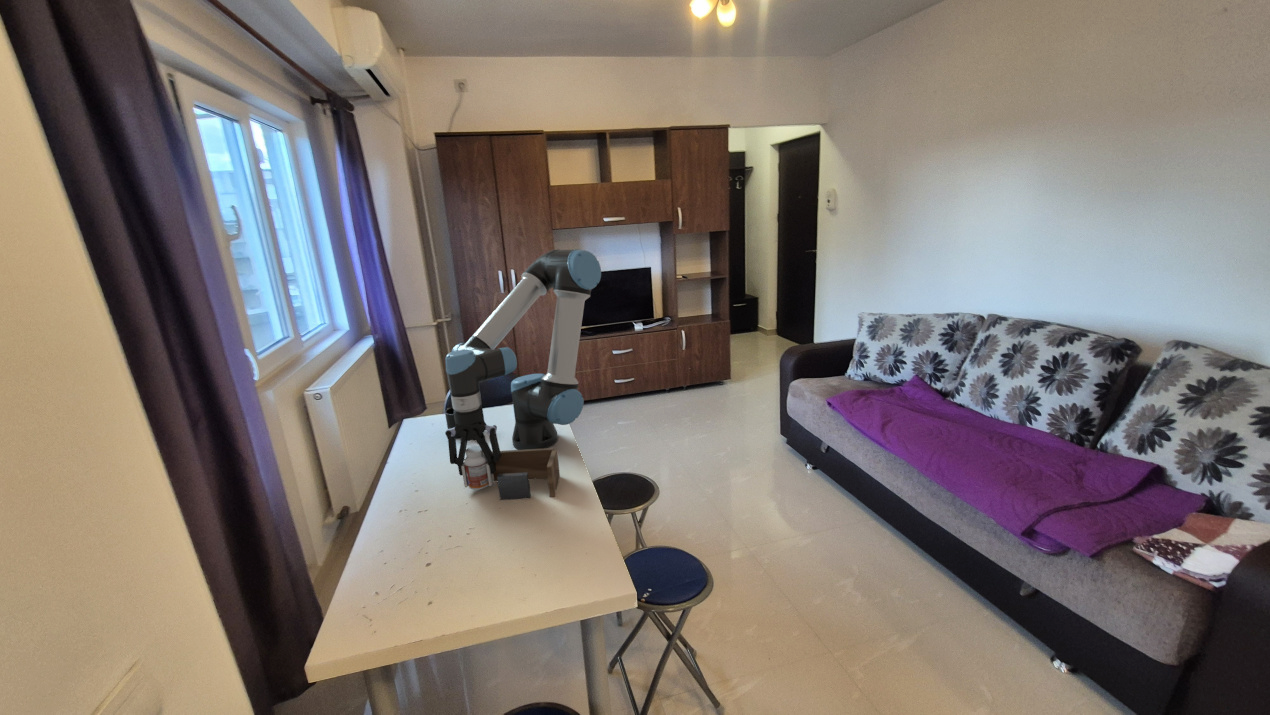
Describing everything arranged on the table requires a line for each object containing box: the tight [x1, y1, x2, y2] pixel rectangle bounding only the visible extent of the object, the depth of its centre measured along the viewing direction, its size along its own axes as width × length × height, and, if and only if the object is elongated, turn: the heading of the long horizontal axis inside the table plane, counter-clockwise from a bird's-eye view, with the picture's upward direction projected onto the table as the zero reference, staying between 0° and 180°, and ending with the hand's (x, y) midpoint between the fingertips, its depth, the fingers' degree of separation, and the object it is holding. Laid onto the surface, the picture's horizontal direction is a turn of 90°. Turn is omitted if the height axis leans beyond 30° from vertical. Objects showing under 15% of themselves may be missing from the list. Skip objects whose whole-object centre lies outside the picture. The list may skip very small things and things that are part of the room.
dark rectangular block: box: [497, 472, 532, 501], centre depth 141 cm, size 2×8×7 cm, turn 90°
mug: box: [444, 406, 461, 439], centre depth 186 cm, size 9×12×9 cm
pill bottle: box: [464, 445, 490, 491], centre depth 145 cm, size 6×6×11 cm
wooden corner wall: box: [491, 447, 561, 498], centre depth 146 cm, size 12×26×9 cm, turn 90°
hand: (479, 483), depth 147 cm, fingers closed on pill bottle, 6 cm apart
